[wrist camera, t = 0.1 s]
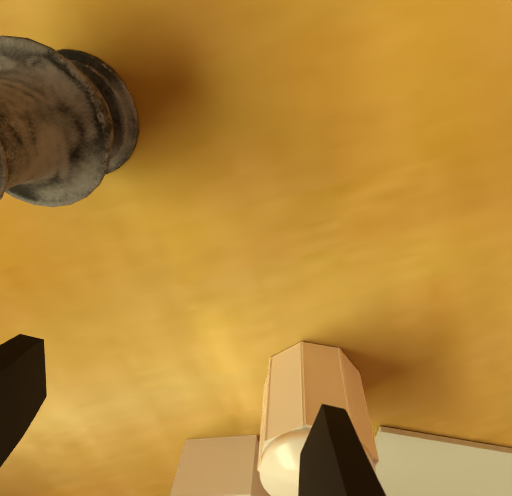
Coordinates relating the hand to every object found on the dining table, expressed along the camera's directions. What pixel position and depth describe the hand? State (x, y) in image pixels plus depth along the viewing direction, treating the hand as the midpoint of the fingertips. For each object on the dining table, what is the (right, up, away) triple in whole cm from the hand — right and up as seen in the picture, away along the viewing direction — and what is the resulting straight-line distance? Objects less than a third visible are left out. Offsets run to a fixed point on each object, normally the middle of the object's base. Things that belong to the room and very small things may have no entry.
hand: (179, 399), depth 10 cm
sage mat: (+15, -14, +16) cm, 26 cm away
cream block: (0, -11, +17) cm, 20 cm away
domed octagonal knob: (+5, -4, +13) cm, 14 cm away
